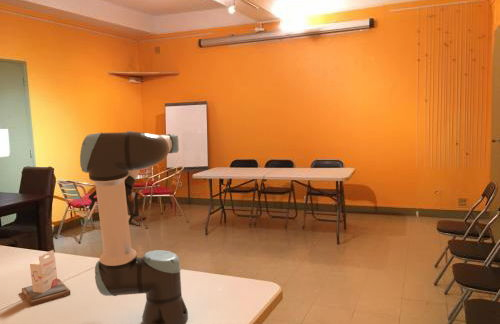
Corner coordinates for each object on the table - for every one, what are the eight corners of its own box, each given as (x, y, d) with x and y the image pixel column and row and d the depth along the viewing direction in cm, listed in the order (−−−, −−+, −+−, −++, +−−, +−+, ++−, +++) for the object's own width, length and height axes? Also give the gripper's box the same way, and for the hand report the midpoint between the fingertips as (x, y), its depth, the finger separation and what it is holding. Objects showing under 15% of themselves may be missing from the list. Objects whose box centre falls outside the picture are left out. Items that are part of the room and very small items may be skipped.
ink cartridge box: (47, 283, 170) (44, 248, 168) (58, 284, 169) (55, 249, 167) (32, 292, 162) (28, 255, 160) (42, 293, 161) (39, 256, 159)
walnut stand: (70, 294, 164) (70, 289, 164) (31, 305, 155) (30, 300, 155) (59, 282, 176) (58, 277, 176) (22, 292, 167) (21, 287, 167)
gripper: (153, 190, 177) (134, 238, 168) (96, 166, 169) (72, 214, 160) (157, 186, 171) (138, 235, 161) (98, 161, 163) (74, 210, 154)
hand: (105, 225), depth 161 cm, fingers open, 13 cm apart
